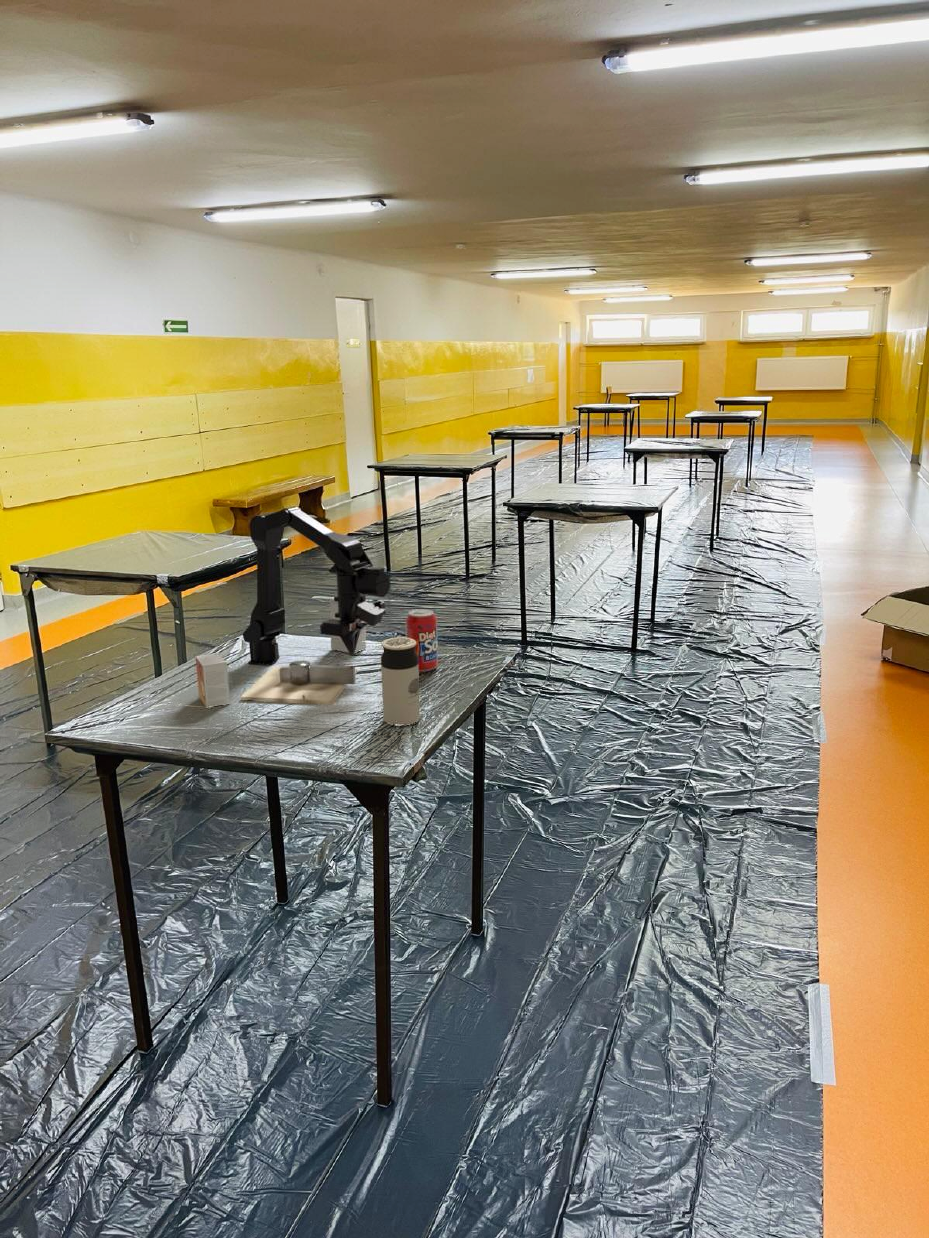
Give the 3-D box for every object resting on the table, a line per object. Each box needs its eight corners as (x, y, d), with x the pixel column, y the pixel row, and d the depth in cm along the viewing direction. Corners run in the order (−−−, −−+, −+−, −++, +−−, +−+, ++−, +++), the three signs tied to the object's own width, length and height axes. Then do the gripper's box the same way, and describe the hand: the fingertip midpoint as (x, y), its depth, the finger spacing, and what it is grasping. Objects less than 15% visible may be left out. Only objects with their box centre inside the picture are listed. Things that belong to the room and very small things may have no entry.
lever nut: (277, 683, 211) (276, 666, 210) (284, 676, 216) (283, 659, 214) (352, 686, 208) (351, 669, 207) (357, 679, 213) (356, 662, 212)
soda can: (409, 663, 228) (407, 608, 224) (438, 663, 228) (437, 608, 224) (405, 673, 221) (403, 616, 216) (436, 673, 220) (435, 616, 216)
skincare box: (330, 650, 239) (327, 598, 235) (343, 644, 244) (340, 592, 240) (356, 654, 235) (353, 601, 231) (368, 648, 241) (366, 596, 236)
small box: (199, 698, 206) (194, 655, 203) (223, 693, 209) (219, 652, 206) (206, 709, 199) (201, 665, 196) (230, 704, 202) (226, 661, 199)
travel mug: (376, 720, 192) (372, 642, 187) (403, 710, 197) (400, 634, 192) (400, 730, 186) (397, 650, 181) (427, 719, 192) (425, 641, 187)
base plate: (240, 700, 204) (240, 696, 204) (274, 669, 225) (273, 665, 225) (331, 704, 201) (331, 700, 201) (357, 672, 222) (356, 668, 221)
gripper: (358, 604, 199) (361, 669, 204) (396, 585, 216) (398, 645, 220) (317, 600, 204) (320, 663, 208) (357, 582, 220) (360, 640, 225)
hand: (352, 653), depth 215 cm, fingers closed
